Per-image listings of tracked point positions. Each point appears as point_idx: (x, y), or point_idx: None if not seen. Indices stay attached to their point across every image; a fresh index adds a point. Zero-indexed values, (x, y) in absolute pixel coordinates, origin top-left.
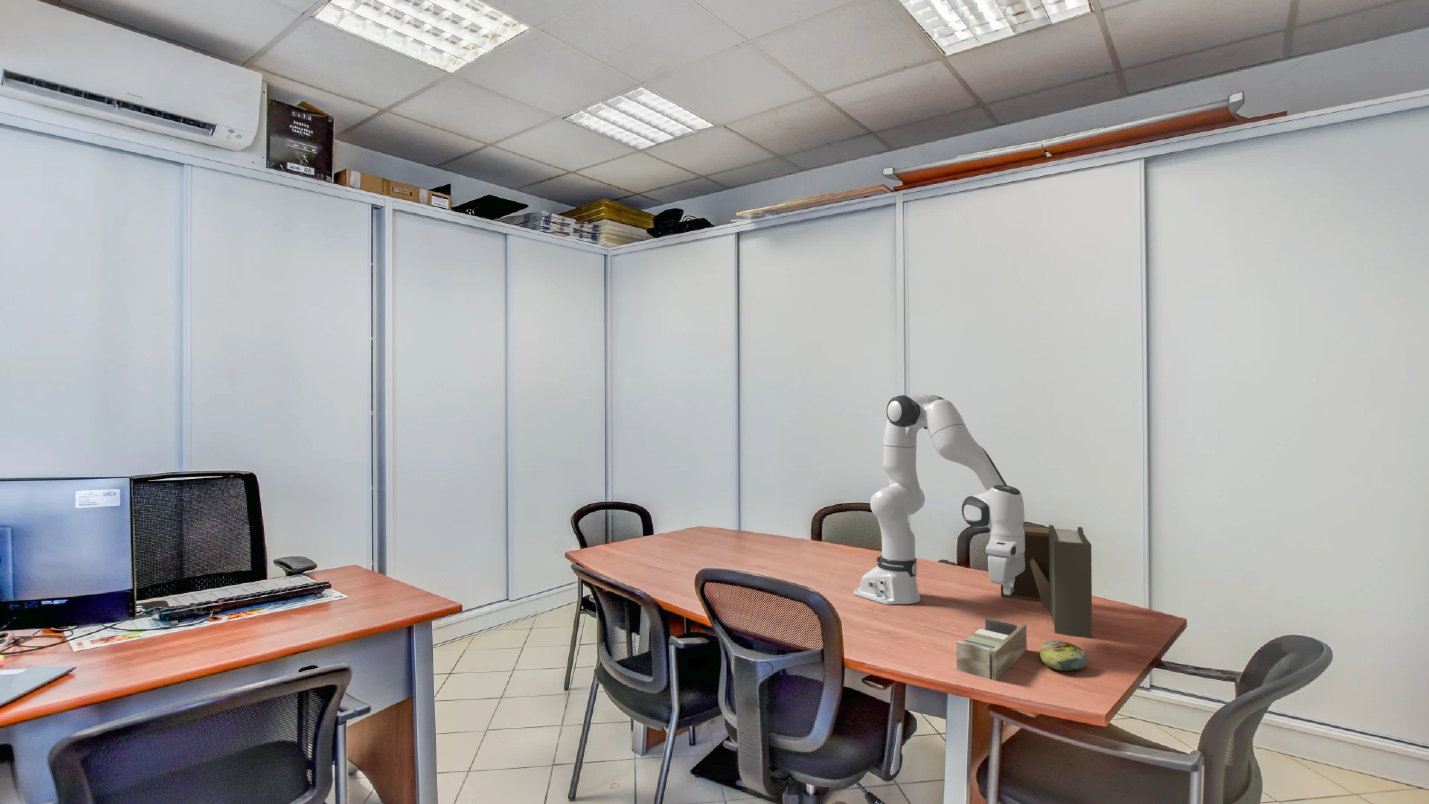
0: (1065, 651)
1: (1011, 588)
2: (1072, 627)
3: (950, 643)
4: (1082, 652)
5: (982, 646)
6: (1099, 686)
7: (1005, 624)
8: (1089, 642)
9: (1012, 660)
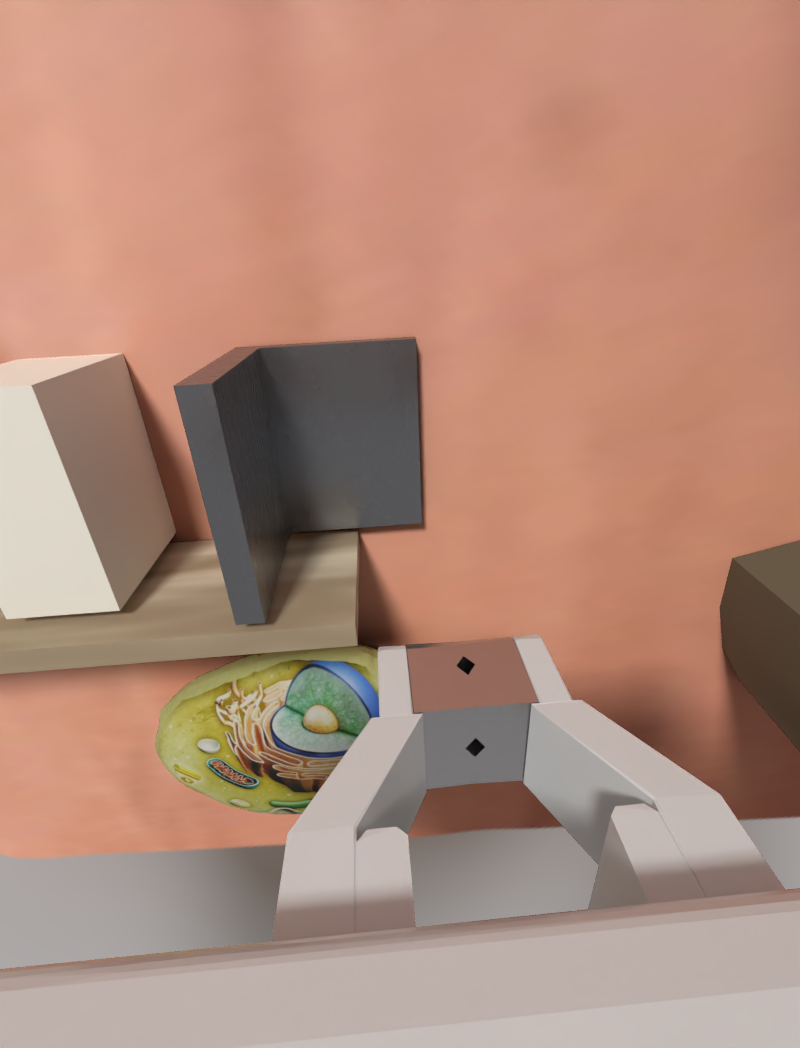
0: (236, 793)
1: (461, 775)
2: (751, 656)
3: (35, 92)
4: None
5: None
6: (204, 810)
7: (218, 556)
8: (665, 688)
9: None
